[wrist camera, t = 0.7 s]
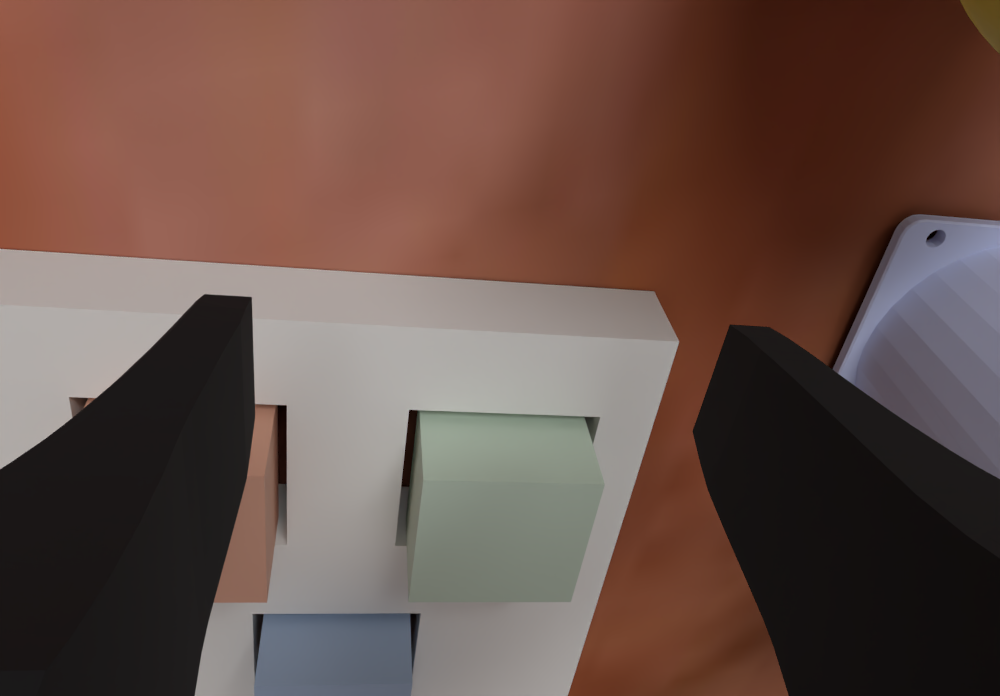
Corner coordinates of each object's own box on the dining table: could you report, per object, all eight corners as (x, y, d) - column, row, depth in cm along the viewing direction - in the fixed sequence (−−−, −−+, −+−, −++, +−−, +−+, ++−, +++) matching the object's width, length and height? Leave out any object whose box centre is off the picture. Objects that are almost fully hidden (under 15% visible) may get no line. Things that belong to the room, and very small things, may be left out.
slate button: (409, 598, 27) (412, 683, 24) (399, 681, 29) (401, 766, 27) (265, 598, 26) (254, 686, 24) (268, 683, 28) (257, 771, 26)
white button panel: (654, 291, 23) (679, 341, 21) (542, 684, 33) (552, 743, 31) (-76, 243, 20) (-126, 297, 18) (46, 694, 30) (23, 760, 28)
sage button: (581, 406, 23) (604, 484, 21) (552, 520, 25) (570, 602, 23) (418, 399, 22) (423, 479, 20) (405, 518, 25) (408, 602, 22)
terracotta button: (277, 394, 22) (264, 476, 19) (278, 516, 24) (267, 602, 22) (93, 386, 21) (54, 471, 18) (114, 513, 23) (82, 603, 21)
